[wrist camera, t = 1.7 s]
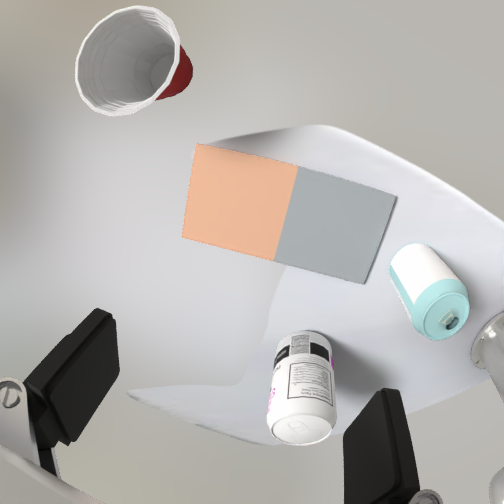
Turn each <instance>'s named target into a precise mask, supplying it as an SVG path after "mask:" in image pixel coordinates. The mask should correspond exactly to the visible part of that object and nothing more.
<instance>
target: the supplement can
mask: <svg viewBox="0 0 504 504" xmlns="http://www.w3.org/2000/svg"><path fill="white" fill-rule="evenodd" d="M336 419H337V412H336V396H335V382H334V370H333V359H332V348H331V346H330V343H329V341H328V340H327V339H326V338H325V337H324V336H322V335H320V334H318V333H316V332H311V331H299V332H293V333H291V334H289V335H287V336H285V337H284V338H283V339H282V340H281V341H280V342H279V344H278V346H277V348H276V354H275V362H274V369H273V377H272V384H271V391H270V398H269V405H268V412H267V424H268V426H269V428H270V430H271V434H272V435H273V437H274V438H275V439H277V440H279V441H280V442H282V443H286V444H289V445H298V446H302V445H311V444H315V443H319V442H321V441H323V440H324V439H326V438H327V437H328V436H329V435H330V434H331V430H332V429H333V427H334V425H335V424H336Z"/></svg>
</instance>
